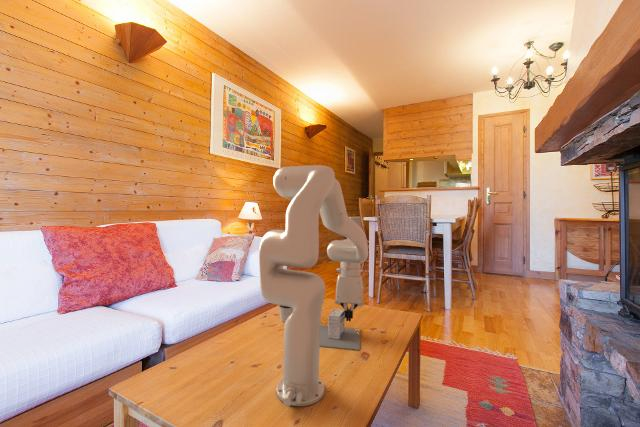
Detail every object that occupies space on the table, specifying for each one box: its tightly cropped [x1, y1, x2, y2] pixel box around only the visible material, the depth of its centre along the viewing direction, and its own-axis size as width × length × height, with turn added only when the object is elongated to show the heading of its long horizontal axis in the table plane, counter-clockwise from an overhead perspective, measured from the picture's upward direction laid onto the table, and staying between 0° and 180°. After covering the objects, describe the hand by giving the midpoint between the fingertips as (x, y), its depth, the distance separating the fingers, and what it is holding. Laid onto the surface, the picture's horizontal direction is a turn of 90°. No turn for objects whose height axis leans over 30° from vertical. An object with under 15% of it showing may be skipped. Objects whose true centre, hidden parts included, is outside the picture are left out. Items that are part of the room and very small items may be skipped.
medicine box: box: [327, 308, 346, 340], centre depth 112 cm, size 8×4×9 cm, turn 161°
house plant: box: [278, 305, 293, 323], centre depth 125 cm, size 14×14×16 cm
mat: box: [320, 324, 361, 351], centre depth 112 cm, size 18×22×1 cm
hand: (348, 319), depth 111 cm, fingers closed
